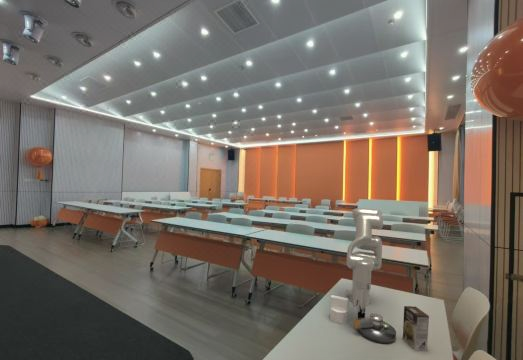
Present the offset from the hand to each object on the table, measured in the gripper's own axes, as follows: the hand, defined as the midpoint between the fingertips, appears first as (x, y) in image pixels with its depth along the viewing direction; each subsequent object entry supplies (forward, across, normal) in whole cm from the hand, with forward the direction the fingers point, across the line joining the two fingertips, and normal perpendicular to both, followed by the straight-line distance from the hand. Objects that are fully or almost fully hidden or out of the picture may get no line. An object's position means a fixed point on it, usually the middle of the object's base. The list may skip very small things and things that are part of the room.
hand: (361, 319), depth 132 cm
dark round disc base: (+4, -1, +7) cm, 8 cm away
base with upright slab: (+5, +1, -12) cm, 13 cm away
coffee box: (+4, -5, +23) cm, 24 cm away
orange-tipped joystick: (+1, +2, +5) cm, 5 cm away
